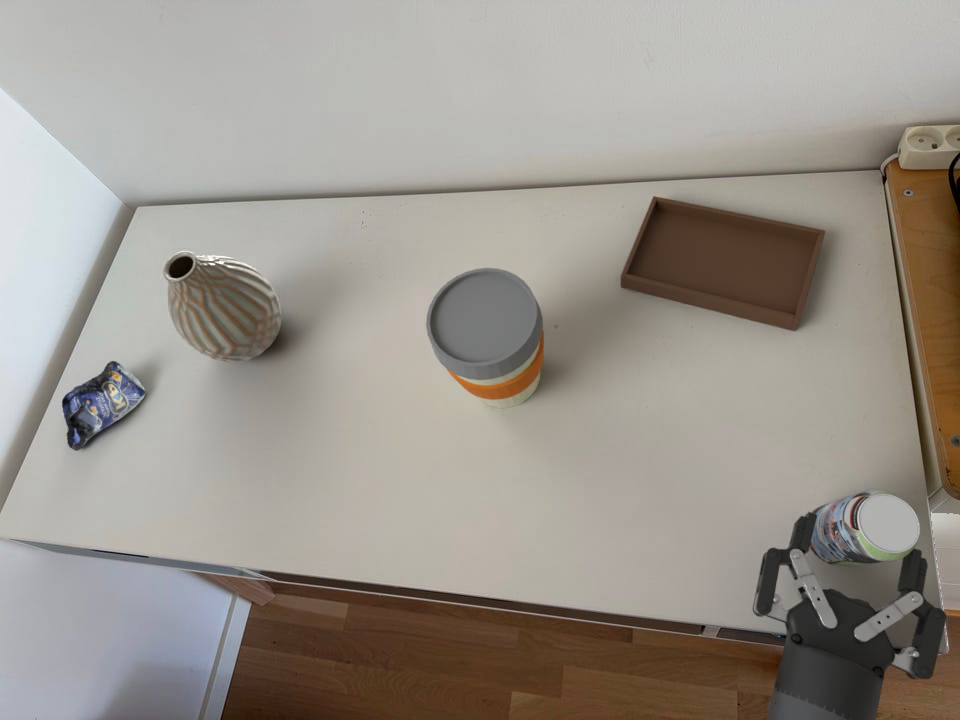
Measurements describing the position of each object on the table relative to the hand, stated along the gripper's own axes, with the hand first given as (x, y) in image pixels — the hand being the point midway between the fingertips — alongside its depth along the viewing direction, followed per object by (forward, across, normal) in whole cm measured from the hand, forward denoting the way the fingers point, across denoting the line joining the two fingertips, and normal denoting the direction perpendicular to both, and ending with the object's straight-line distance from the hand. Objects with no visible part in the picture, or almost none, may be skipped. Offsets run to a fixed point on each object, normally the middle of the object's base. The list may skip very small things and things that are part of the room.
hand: (860, 531), depth 59 cm
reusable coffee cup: (+7, +40, +7) cm, 41 cm away
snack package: (-17, +92, +7) cm, 94 cm away
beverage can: (0, 0, +7) cm, 7 cm away
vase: (+1, +77, +7) cm, 77 cm away
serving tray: (+30, +20, +7) cm, 36 cm away
